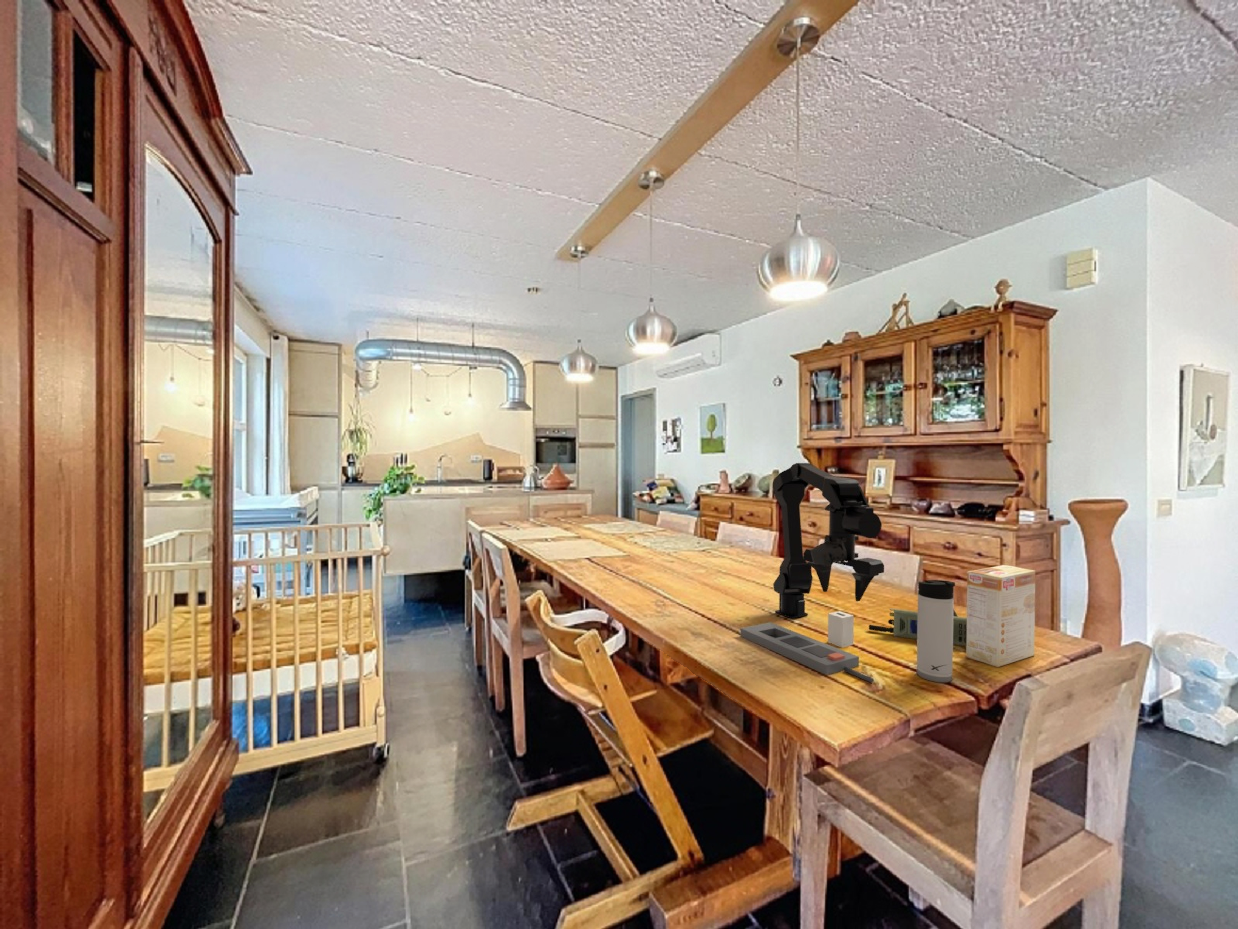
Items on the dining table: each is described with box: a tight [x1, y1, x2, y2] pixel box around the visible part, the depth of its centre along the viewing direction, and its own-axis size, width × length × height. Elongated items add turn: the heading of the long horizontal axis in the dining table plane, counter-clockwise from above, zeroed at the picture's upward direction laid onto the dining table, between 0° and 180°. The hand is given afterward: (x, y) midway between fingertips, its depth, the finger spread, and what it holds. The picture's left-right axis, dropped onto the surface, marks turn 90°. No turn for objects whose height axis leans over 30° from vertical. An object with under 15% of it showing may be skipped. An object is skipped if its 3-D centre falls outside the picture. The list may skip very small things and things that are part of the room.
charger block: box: [827, 610, 855, 648], centre depth 126 cm, size 4×4×7 cm
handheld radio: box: [868, 608, 967, 647], centre depth 129 cm, size 7×3×25 cm
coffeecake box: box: [965, 564, 1036, 668], centre depth 118 cm, size 15×7×20 cm, turn 117°
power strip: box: [740, 621, 874, 683], centre depth 119 cm, size 33×10×3 cm, turn 29°
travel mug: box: [916, 579, 956, 684], centre depth 107 cm, size 6×7×20 cm
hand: (841, 596), depth 126 cm, fingers open, 9 cm apart
